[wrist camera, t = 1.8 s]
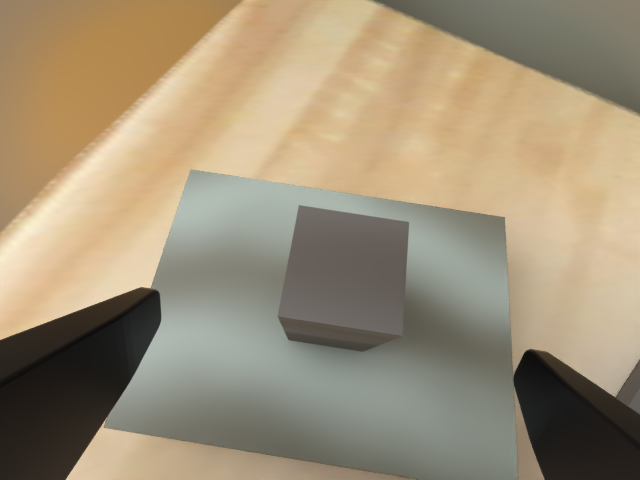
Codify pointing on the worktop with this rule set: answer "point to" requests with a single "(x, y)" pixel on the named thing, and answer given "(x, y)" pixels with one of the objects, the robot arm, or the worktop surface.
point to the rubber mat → (631, 390)
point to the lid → (331, 332)
